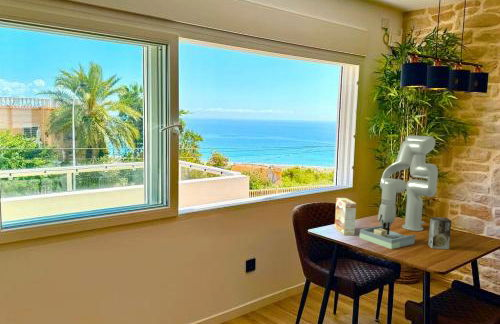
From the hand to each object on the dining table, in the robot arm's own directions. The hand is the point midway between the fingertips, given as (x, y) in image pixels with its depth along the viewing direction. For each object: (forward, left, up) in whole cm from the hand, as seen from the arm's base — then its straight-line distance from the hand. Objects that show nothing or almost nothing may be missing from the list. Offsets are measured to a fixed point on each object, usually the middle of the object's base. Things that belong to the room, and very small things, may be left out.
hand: (385, 233), depth 224 cm
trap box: (-1, 0, -4) cm, 4 cm away
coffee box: (-18, +21, -4) cm, 28 cm away
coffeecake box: (+8, -24, -4) cm, 26 cm away
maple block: (+5, 0, -1) cm, 5 cm away
